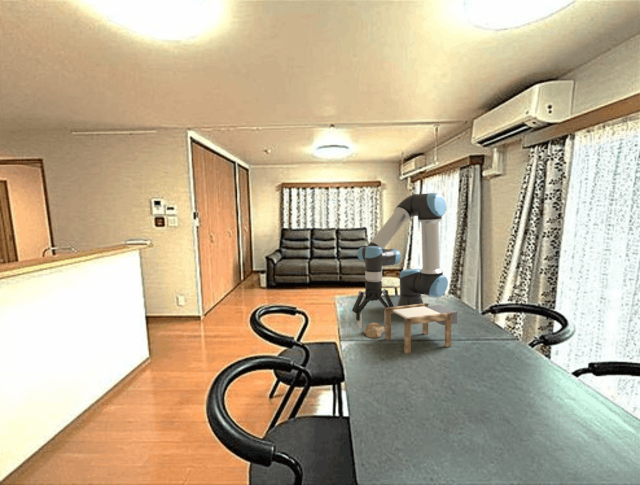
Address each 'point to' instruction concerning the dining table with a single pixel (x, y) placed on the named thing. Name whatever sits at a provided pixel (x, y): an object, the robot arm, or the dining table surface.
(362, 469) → the dining table surface
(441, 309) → the trapdoor
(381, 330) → the stone
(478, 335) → the dining table surface
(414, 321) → the frame
